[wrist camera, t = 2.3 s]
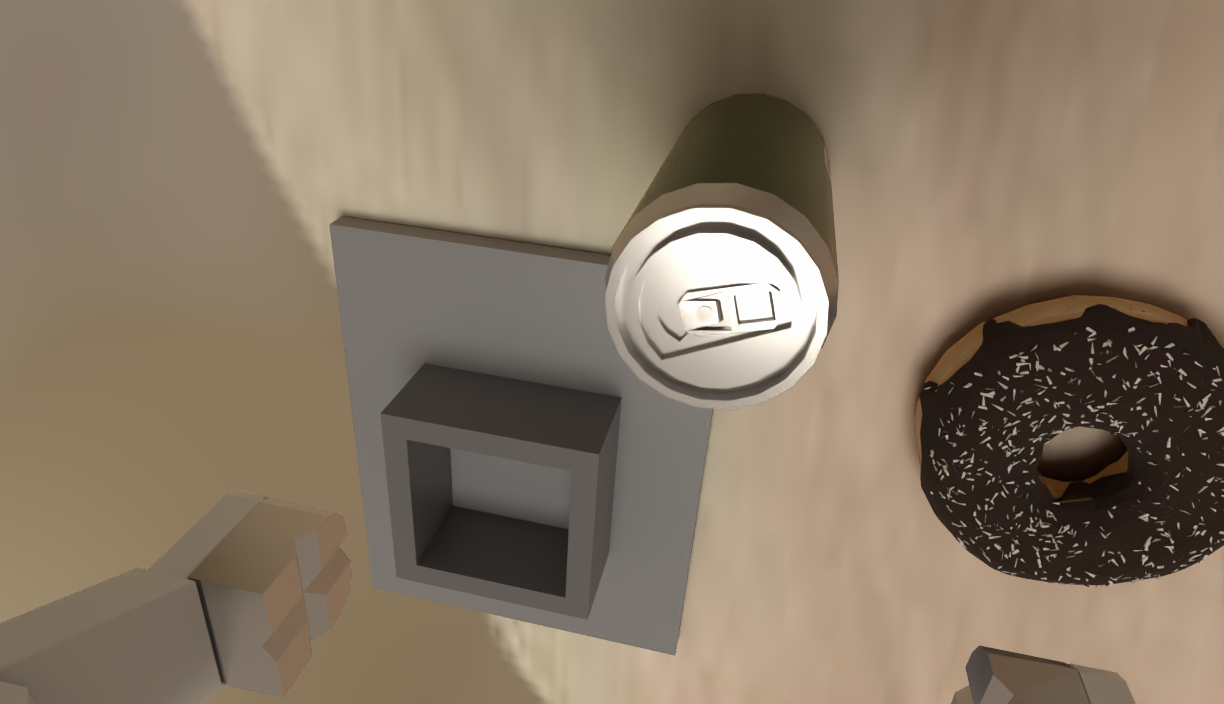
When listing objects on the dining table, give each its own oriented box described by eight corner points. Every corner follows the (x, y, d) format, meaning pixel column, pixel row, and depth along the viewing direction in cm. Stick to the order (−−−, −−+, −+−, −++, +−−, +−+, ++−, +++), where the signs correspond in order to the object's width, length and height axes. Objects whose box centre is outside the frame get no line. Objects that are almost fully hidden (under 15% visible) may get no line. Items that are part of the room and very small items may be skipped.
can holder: (342, 216, 32) (270, 261, 28) (733, 273, 30) (720, 333, 25) (381, 573, 42) (333, 647, 38) (678, 639, 39) (661, 727, 35)
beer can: (820, 74, 26) (826, 175, 15) (837, 229, 28) (852, 408, 18) (660, 105, 27) (568, 217, 17) (688, 250, 29) (623, 426, 19)
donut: (997, 574, 34) (1018, 648, 30) (849, 369, 31) (853, 426, 27) (1294, 470, 29) (1360, 544, 25) (1152, 213, 26) (1204, 258, 22)
